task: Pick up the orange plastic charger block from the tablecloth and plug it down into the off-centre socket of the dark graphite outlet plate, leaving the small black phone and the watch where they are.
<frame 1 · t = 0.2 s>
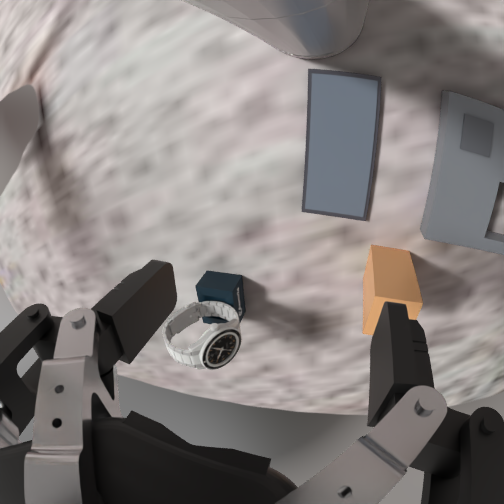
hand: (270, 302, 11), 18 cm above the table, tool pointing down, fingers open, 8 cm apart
outlet plate: (492, 178, 19), on the table
watch: (227, 290, 36), on the table
charger: (385, 265, 27), on the table
phone: (341, 144, 24), on the table
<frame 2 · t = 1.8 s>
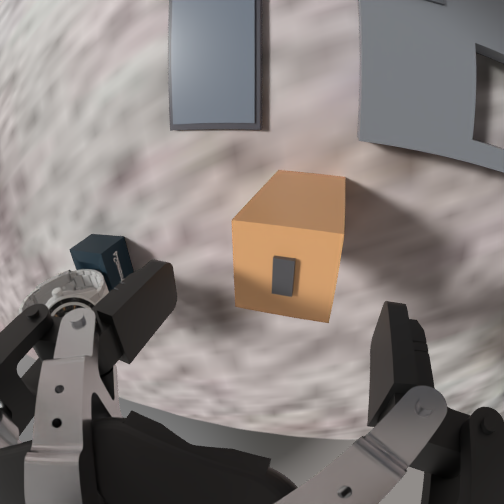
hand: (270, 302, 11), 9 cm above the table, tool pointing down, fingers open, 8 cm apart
outlet plate: (466, 52, 10), on the table
watch: (116, 260, 26), on the table
charger: (309, 204, 18), on the table
phone: (217, 32, 14), on the table
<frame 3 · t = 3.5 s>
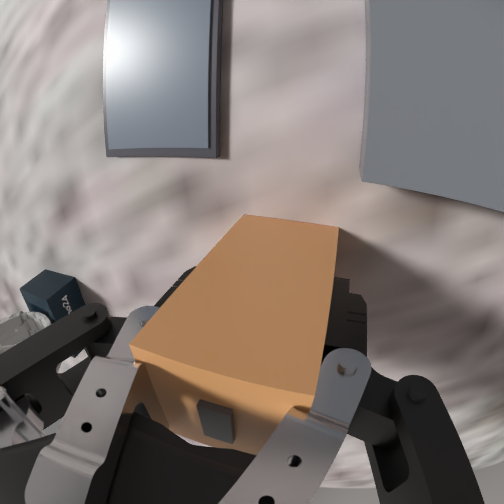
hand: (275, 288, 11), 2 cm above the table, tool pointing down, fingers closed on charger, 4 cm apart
watch: (72, 300, 21), on the table
charger: (287, 262, 13), on the table, touching gripper
phone: (166, 22, 10), on the table
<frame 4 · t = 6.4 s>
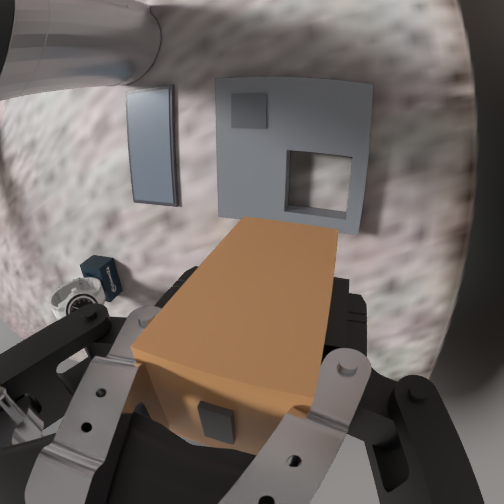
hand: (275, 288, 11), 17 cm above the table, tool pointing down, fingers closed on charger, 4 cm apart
outlet plate: (293, 149, 25), on the table
watch: (108, 272, 40), on the table
charger: (287, 264, 13), point 15 cm above the table, touching gripper
phone: (154, 145, 29), on the table
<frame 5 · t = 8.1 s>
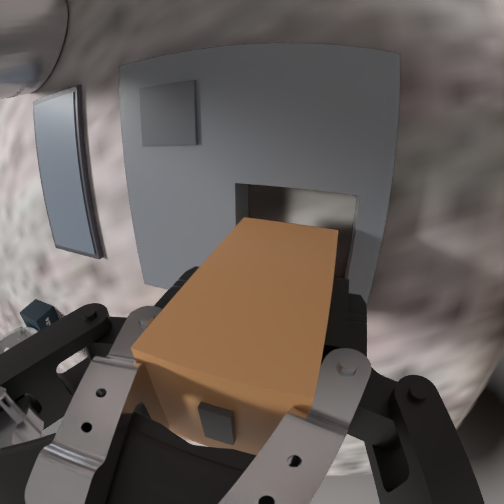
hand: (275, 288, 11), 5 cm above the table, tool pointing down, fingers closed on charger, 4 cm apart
outlet plate: (253, 178, 15), on the table
watch: (53, 319, 30), on the table
charger: (287, 265, 13), point 3 cm above the table, touching gripper
phone: (69, 173, 19), on the table
when the fingers open (3 cm above the table, at t = 9.3 s): charger stays where it is, resting in outlet plate.
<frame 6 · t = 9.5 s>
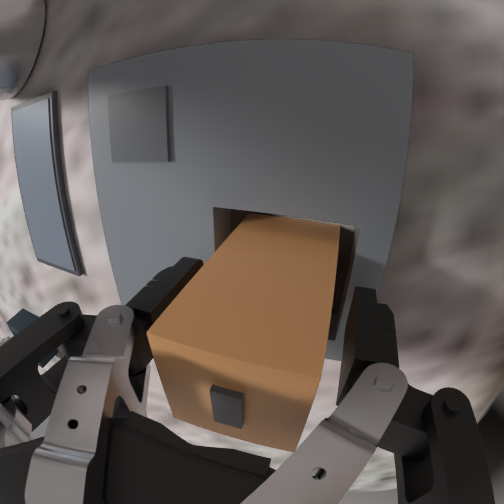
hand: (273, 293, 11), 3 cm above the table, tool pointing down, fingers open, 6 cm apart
outlet plate: (236, 198, 13), on the table
watch: (40, 329, 28), on the table
charger: (290, 259, 14), resting in outlet plate
phone: (47, 184, 17), on the table
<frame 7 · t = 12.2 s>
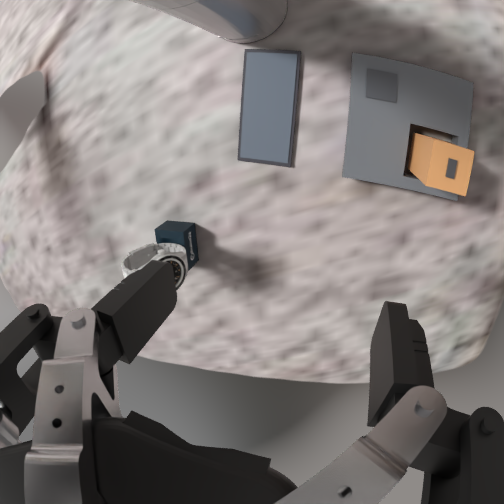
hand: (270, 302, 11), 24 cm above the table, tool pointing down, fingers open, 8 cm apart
outlet plate: (408, 125, 25), on the table
watch: (184, 239, 40), on the table
charger: (427, 154, 26), resting in outlet plate
phone: (270, 106, 30), on the table
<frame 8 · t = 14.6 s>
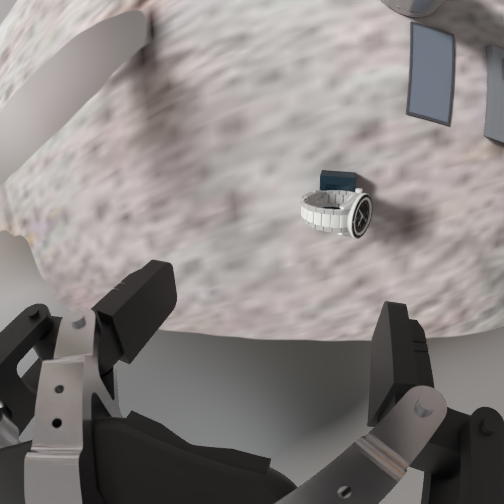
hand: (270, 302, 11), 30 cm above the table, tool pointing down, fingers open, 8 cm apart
watch: (338, 191, 38), on the table
phone: (430, 72, 27), on the table
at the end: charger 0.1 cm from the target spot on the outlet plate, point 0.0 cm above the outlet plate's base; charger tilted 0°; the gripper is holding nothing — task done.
